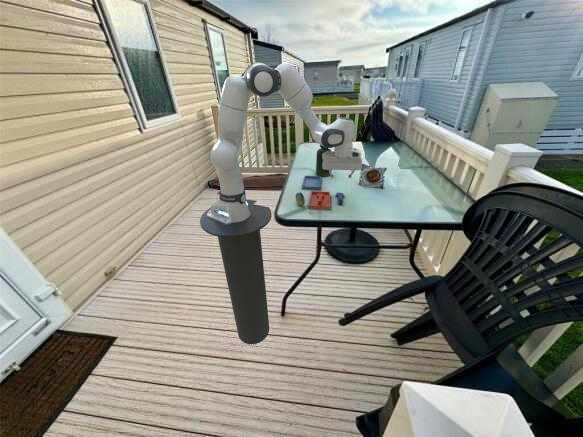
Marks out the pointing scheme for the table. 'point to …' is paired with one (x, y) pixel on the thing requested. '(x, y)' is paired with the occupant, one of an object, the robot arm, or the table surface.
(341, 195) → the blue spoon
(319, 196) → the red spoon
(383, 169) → the meal
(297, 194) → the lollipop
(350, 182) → the table surface
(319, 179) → the blue tray
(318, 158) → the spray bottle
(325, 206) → the red tray
